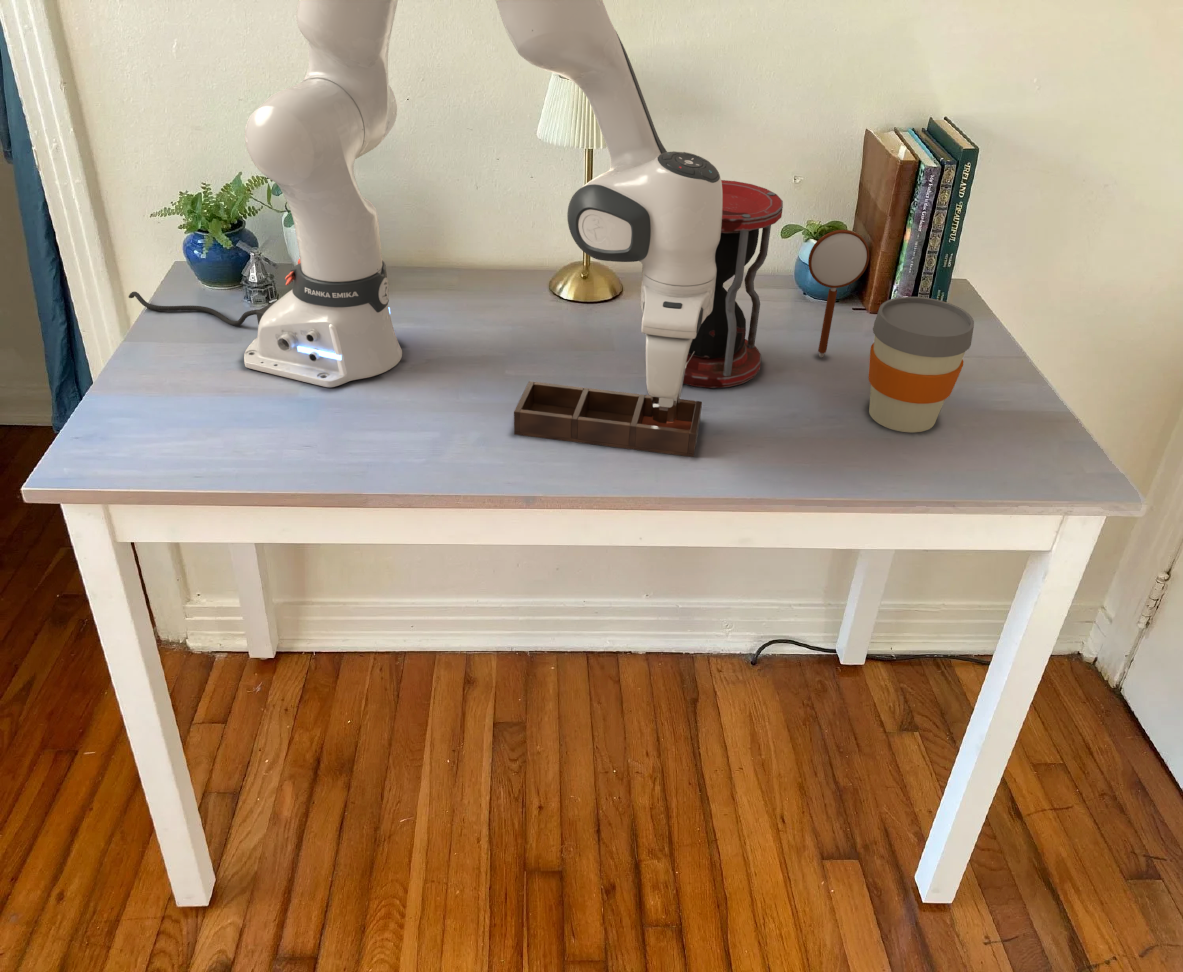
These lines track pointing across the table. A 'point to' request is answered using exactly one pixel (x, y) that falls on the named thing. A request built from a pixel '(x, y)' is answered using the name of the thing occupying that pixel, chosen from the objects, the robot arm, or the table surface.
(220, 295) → the table surface
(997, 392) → the table surface
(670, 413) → the milkshake
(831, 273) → the magnifying glass
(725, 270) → the hourglass
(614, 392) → the compartment tray
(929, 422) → the reusable coffee cup
